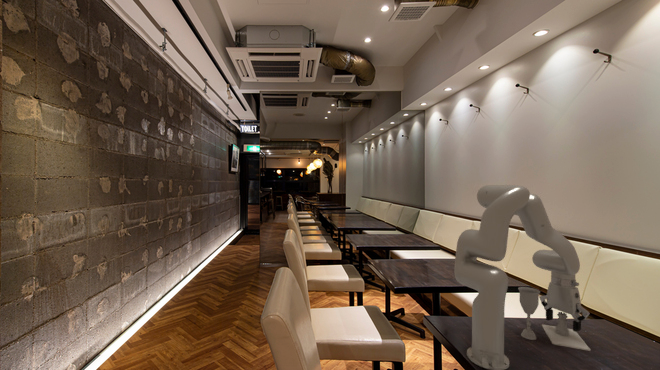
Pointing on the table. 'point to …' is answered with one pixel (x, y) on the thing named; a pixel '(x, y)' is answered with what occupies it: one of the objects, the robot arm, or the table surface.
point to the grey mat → (565, 338)
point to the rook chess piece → (562, 324)
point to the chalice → (529, 308)
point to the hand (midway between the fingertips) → (562, 325)
